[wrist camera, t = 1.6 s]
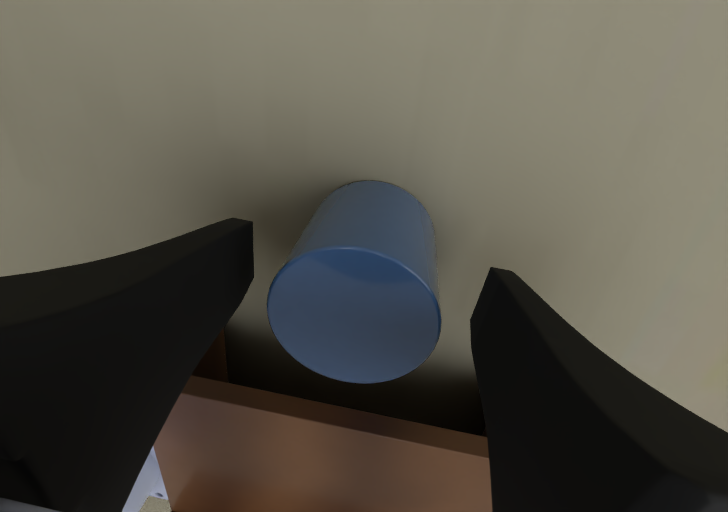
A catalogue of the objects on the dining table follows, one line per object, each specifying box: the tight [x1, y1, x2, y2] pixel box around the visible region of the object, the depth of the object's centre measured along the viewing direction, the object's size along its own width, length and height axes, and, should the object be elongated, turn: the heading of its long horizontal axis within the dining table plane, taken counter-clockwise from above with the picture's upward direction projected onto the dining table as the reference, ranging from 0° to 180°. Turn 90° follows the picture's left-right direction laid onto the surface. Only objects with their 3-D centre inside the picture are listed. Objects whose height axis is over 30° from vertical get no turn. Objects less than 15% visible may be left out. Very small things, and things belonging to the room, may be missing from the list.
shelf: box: [153, 328, 492, 512], centre depth 15 cm, size 15×10×6 cm, turn 82°
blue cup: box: [267, 181, 441, 383], centre depth 11 cm, size 4×4×4 cm
